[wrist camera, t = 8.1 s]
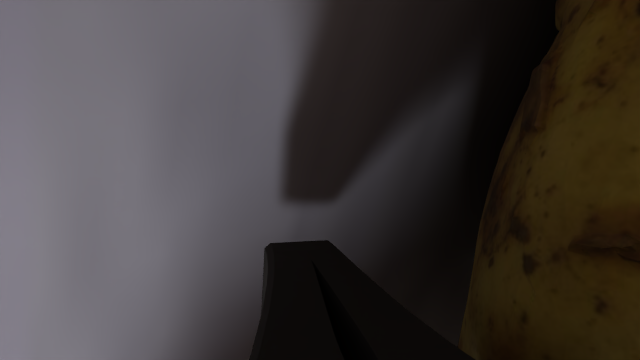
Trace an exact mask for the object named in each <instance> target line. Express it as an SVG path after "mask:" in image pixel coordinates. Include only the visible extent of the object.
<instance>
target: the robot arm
mask: <svg viewBox="0 0 640 360" xmlns="http://www.w3.org/2000/svg"><path fill="white" fill-rule="evenodd" d="M249 360H476V359H474V358H472V357H471V356H469V355H468V354H466V353H465V352H463V351H462V350H460V349H459V348H457V347H456V346H455V345H453V344H452V343H450V342H449V341H448V340H446V339H445V338H443V337H442V336H441V335H439V334H438V333H437V332H435V331H434V330H433V329H431V328H430V327H429V326H427V325H426V324H425V323H423V322H422V321H421V320H420V319H418V318H417V317H416V316H414V315H413V314H412V313H410V312H409V311H408V310H407V309H406V308H404V307H403V306H402V305H401V304H399V303H398V302H397V301H396V300H395V299H393V298H392V297H391V296H390V295H389V294H387V293H386V292H385V291H384V290H383V289H382V288H380V287H379V286H378V285H377V284H376V283H375V282H374V281H372V280H371V279H370V278H369V277H368V276H367V275H366V274H365V273H363V272H362V271H361V270H360V269H359V268H358V267H357V266H356V265H355V264H354V263H352V262H351V261H350V260H349V259H348V258H347V257H346V256H345V255H344V254H343V253H342V252H341V251H339V250H338V249H337V248H336V247H335V246H334V245H333V244H332V243H330V242H329V241H328V240H324V241H304V242H285V243H270V244H269V245H268V246H267V247H266V248H265V251H264V271H263V291H262V312H261V319H260V323H259V326H258V330H257V334H256V338H255V341H254V345H253V349H252V353H251V356H250V359H249Z"/></svg>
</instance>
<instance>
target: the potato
mask: <svg viewBox="0 0 640 360" xmlns="http://www.w3.org/2000/svg"><path fill="white" fill-rule="evenodd" d="M555 25H556V28H557V30H559V33H558V34H557V35H556V37H555V40H554V42H553V44H552V46H551V48H550V49H549V51H548V53H547V55H545V56H544V58H543V59H542V61H541V63H540V65H538V66H537V67H536V68H535V69H534V70H533V71H532V75H531V79H530V83H529V87H528V89H527V91H526V93H525V95H524V97H523V99H522V101H521V103H520V106H519V108H518V110H517V112H516V115H515V117H514V119H513V122H512V124H511V127H510V129H509V132H508V134H507V137H506V139H505V142H504V144H503V147H502V149H501V151H500V155H499V158H498V162H497V165H496V168H495V170H494V172H493V177H492V180H491V183H490V186H489V190H488V194H487V198H486V202H485V206H484V210H483V214H482V218H481V222H480V226H479V232H478V237H477V243H476V250H475V257H474V264H473V270H472V276H471V282H470V287H469V293H468V299H467V304H466V309H465V313H464V318H463V323H462V328H461V333H460V338H459V343H458V348H459V349H460V350H462V351H463V352H465V353H466V354H468V355H469V356H471V357H472V358H474V359H476V360H640V0H557V1H556V4H555Z"/></svg>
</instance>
